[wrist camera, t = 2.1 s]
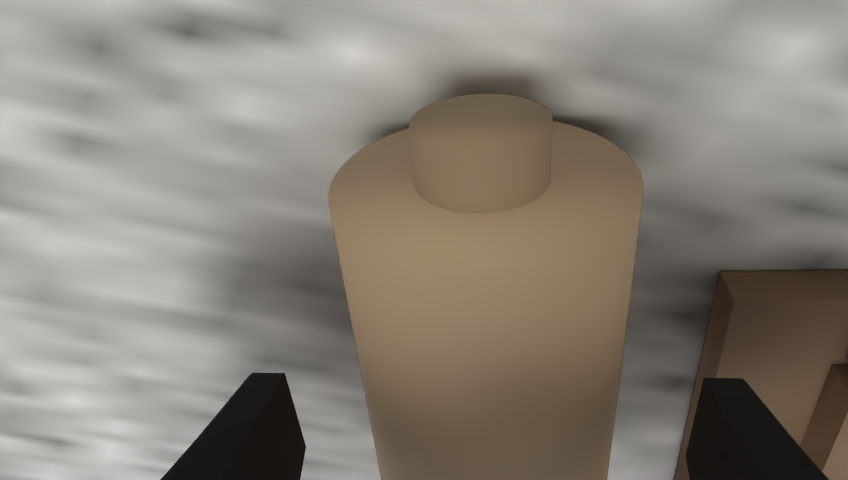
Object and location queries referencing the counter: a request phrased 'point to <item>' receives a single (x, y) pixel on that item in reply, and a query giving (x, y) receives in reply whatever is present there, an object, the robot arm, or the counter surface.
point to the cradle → (784, 356)
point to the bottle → (489, 290)
